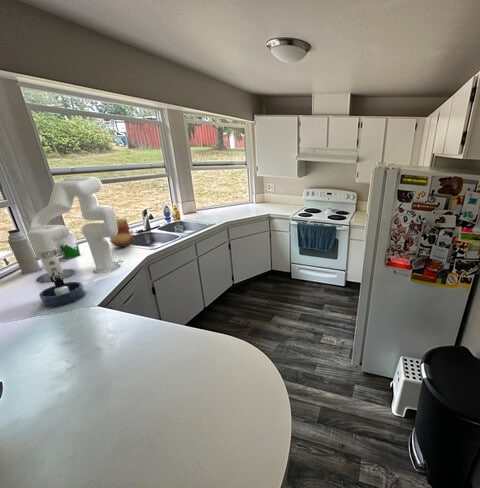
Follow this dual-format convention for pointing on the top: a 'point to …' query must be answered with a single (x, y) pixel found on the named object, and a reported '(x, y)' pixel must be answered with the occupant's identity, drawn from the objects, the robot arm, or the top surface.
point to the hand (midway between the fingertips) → (58, 284)
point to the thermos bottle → (23, 252)
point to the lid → (65, 274)
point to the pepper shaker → (61, 290)
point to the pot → (64, 299)
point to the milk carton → (69, 246)
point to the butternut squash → (122, 233)
